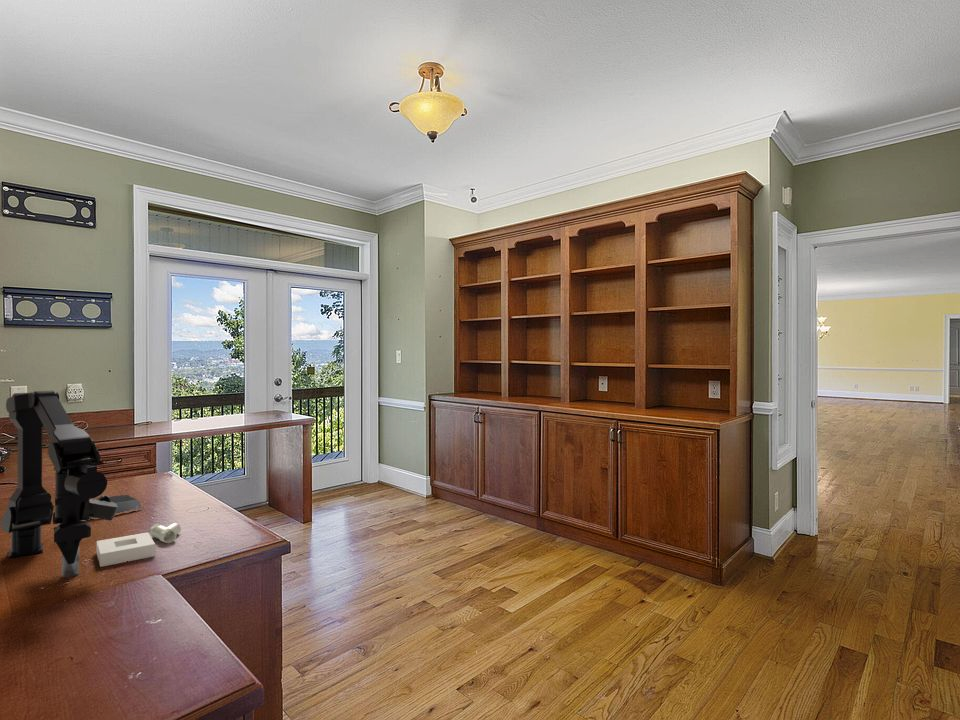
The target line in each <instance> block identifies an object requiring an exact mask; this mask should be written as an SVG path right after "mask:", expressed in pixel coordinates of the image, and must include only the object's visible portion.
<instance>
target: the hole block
mask: <svg viewBox="0 0 960 720" xmlns="http://www.w3.org/2000/svg"><path fill="white" fill-rule="evenodd" d="M96 557H97V561H98V564H99V566H100V568H101V567H107V566H111V565H117V564H122V563H127V561H128V562H132V561H136V560H142V559H148V558H153V557H156V543H155V541H154V540H153V538H152V536H150V532H143V533H136V534H131V535H125V536H119V537H114V538H105V539H101V540H100V539H99V540H96Z"/></svg>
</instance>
